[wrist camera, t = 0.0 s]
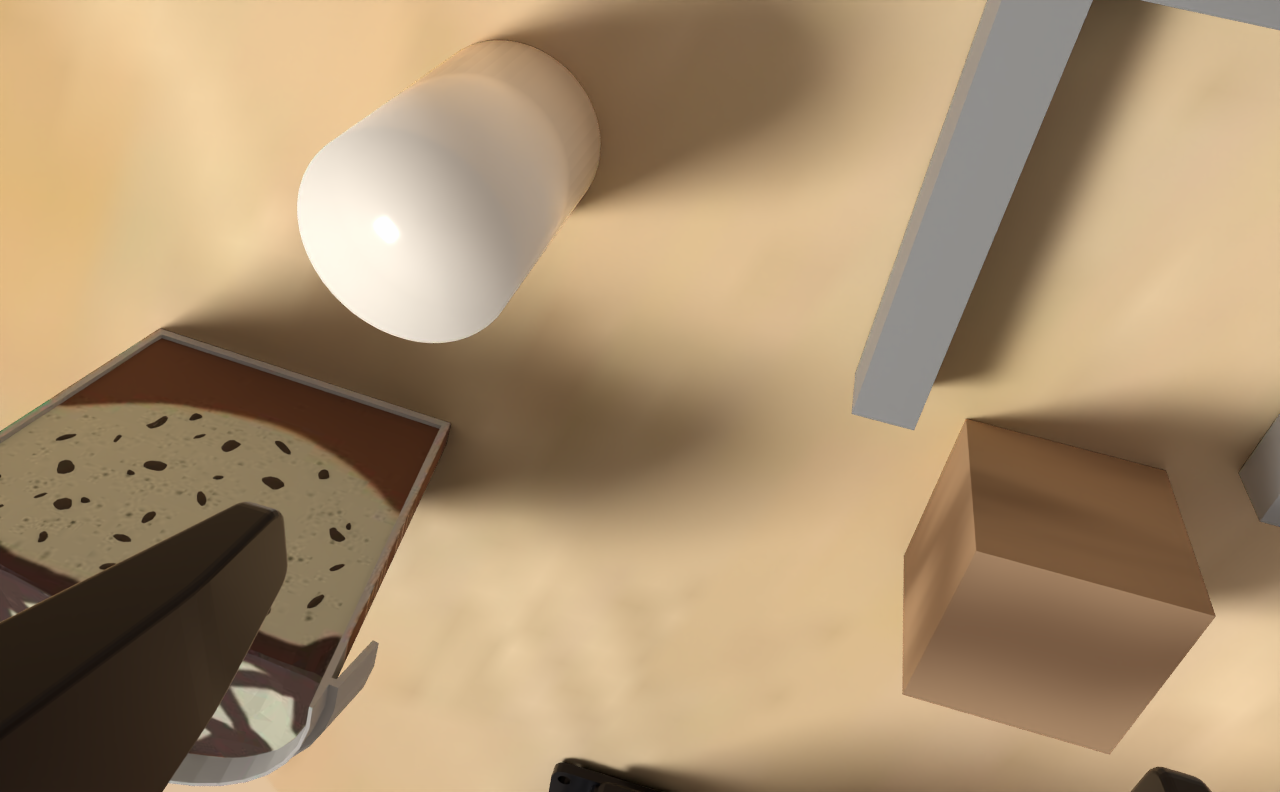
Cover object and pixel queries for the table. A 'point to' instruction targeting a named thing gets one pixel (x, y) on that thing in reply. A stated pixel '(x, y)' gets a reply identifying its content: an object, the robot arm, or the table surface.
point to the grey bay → (996, 208)
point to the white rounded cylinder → (450, 191)
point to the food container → (207, 484)
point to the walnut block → (1048, 588)
